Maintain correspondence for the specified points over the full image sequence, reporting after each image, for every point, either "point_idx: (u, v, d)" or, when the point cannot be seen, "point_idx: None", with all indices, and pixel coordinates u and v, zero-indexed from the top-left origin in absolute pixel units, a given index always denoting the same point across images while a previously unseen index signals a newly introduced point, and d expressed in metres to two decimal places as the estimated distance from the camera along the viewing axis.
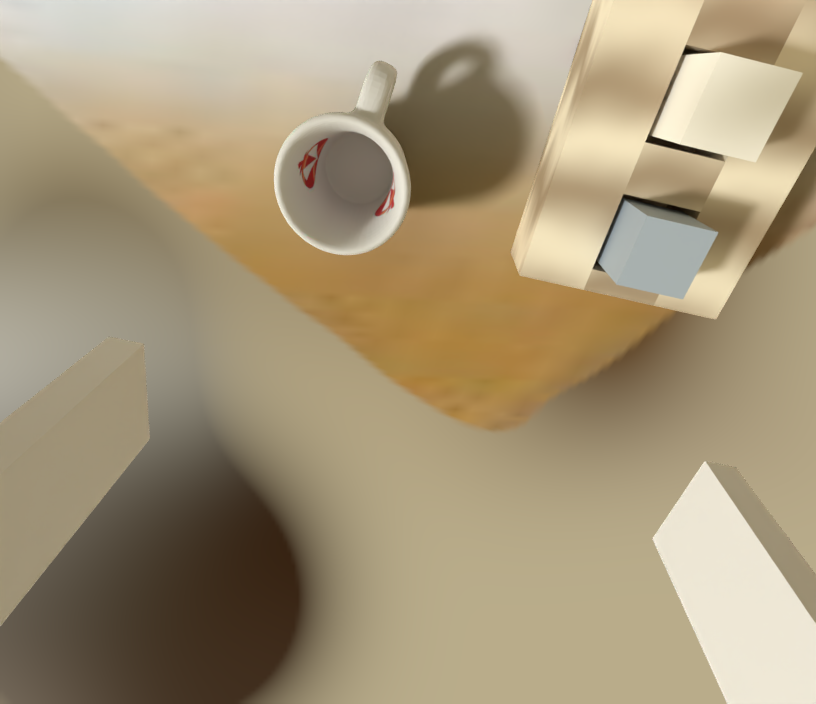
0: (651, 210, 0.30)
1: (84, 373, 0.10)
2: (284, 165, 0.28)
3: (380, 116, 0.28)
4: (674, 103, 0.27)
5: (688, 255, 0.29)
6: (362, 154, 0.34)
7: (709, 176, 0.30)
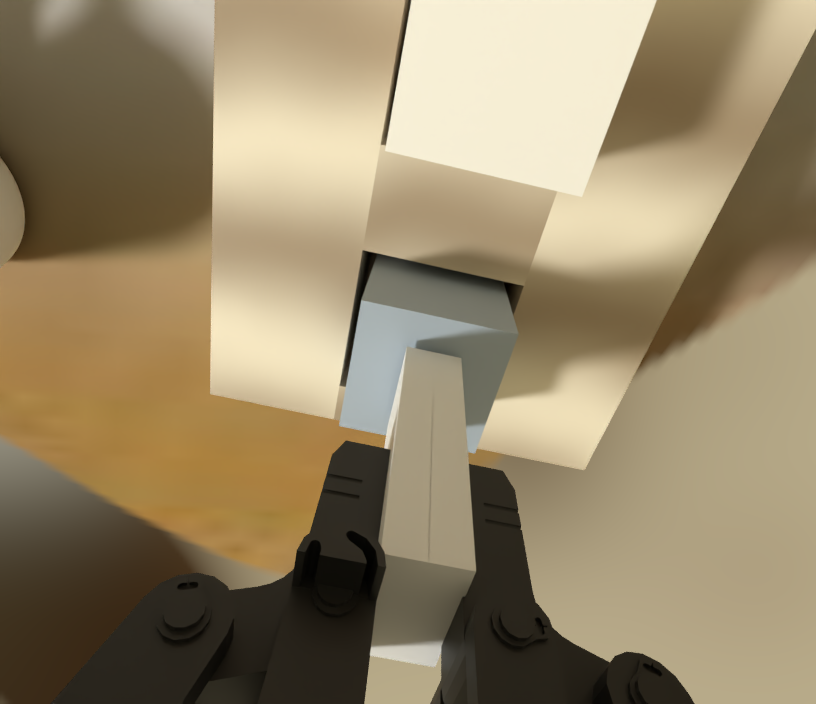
0: (408, 277, 0.15)
1: (416, 376, 0.12)
2: None
3: None
4: None
5: (466, 376, 0.14)
6: None
7: (530, 216, 0.14)
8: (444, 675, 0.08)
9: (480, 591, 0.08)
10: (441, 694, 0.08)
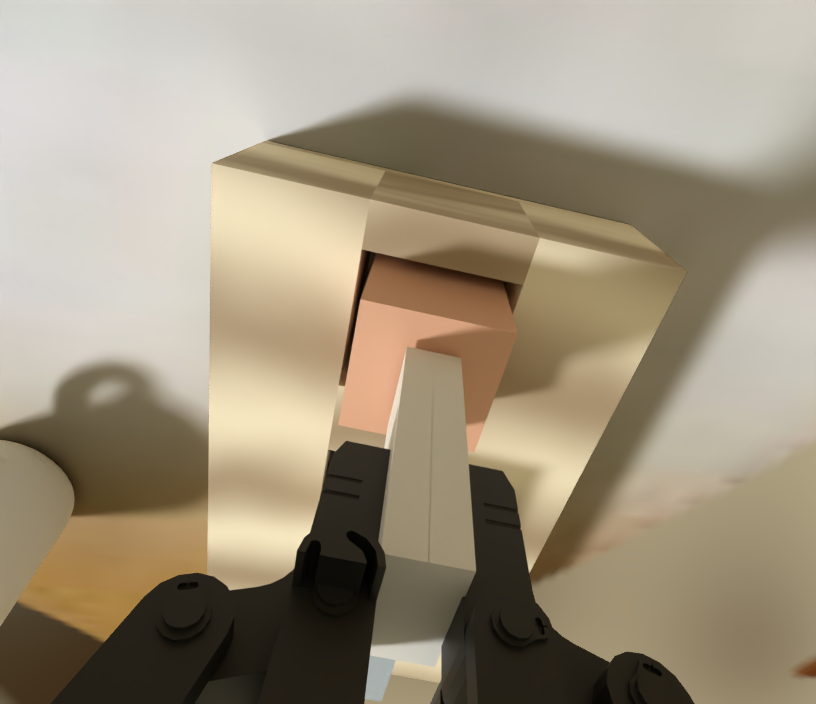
0: None
1: (416, 376, 0.12)
2: None
3: None
4: None
5: (370, 668, 0.22)
6: None
7: None
8: (444, 675, 0.08)
9: (480, 591, 0.08)
10: (441, 694, 0.08)
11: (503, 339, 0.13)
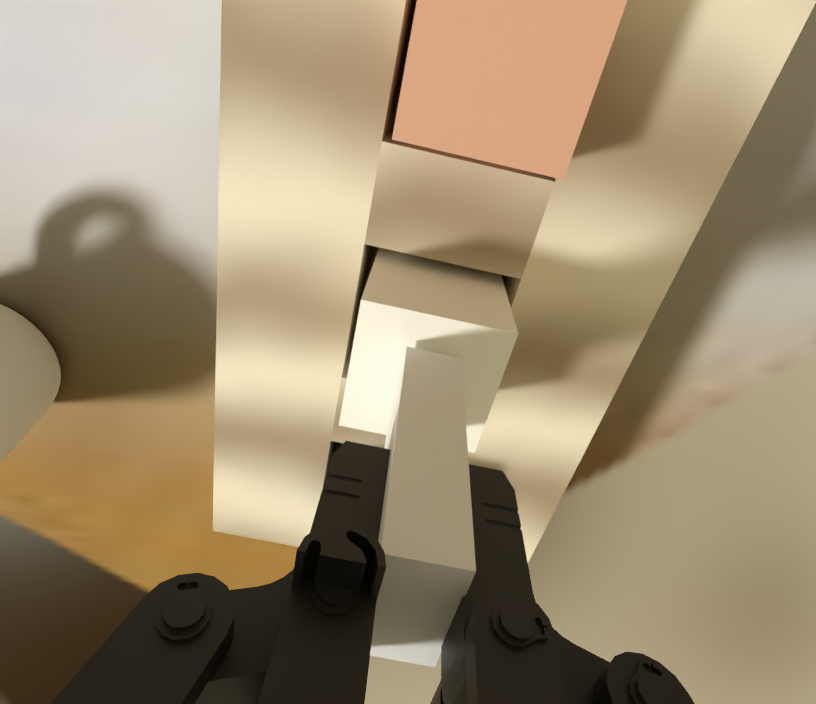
0: None
1: (416, 376, 0.12)
2: None
3: None
4: None
5: None
6: None
7: None
8: (444, 675, 0.08)
9: (480, 591, 0.08)
10: (441, 694, 0.08)
11: None
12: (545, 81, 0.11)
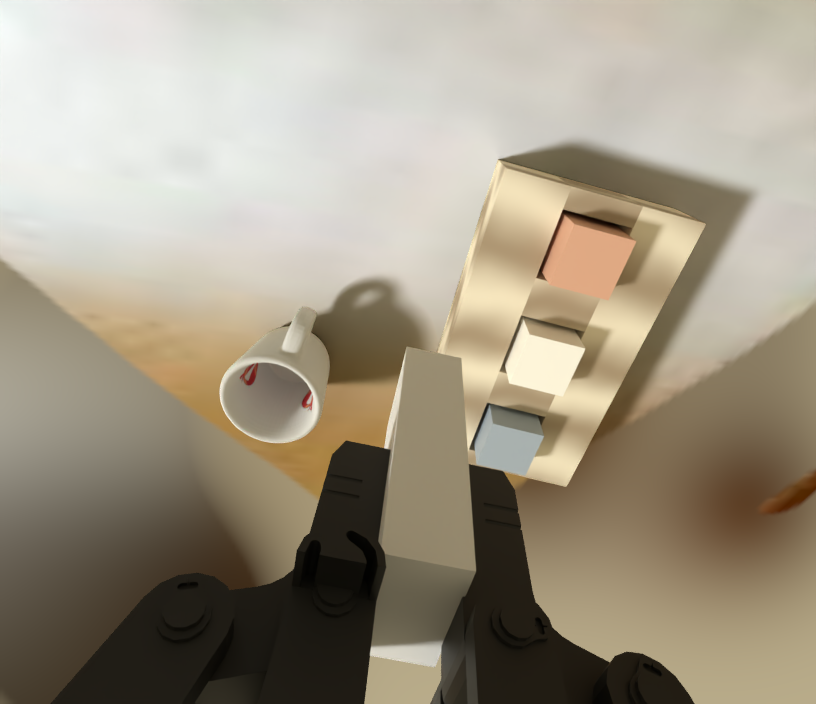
0: (503, 410, 0.41)
1: (416, 376, 0.12)
2: (227, 385, 0.38)
3: (300, 353, 0.38)
4: (512, 346, 0.39)
5: (525, 448, 0.40)
6: None
7: (548, 395, 0.40)
8: (444, 675, 0.08)
9: (480, 591, 0.08)
10: (441, 694, 0.08)
11: (630, 243, 0.32)
12: (604, 270, 0.33)
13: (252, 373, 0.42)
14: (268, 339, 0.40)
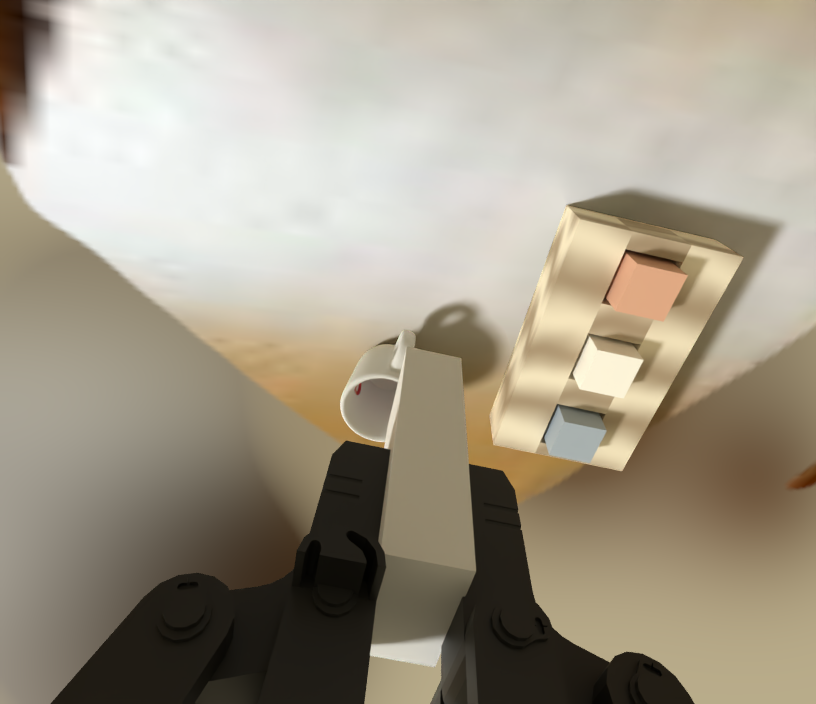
0: (570, 410, 0.49)
1: (416, 376, 0.12)
2: (347, 396, 0.47)
3: None
4: (579, 357, 0.47)
5: (590, 441, 0.48)
6: None
7: (609, 396, 0.48)
8: (444, 675, 0.08)
9: (480, 591, 0.08)
10: (441, 694, 0.08)
11: (682, 277, 0.40)
12: (660, 298, 0.41)
13: (359, 384, 0.50)
14: (375, 357, 0.48)
